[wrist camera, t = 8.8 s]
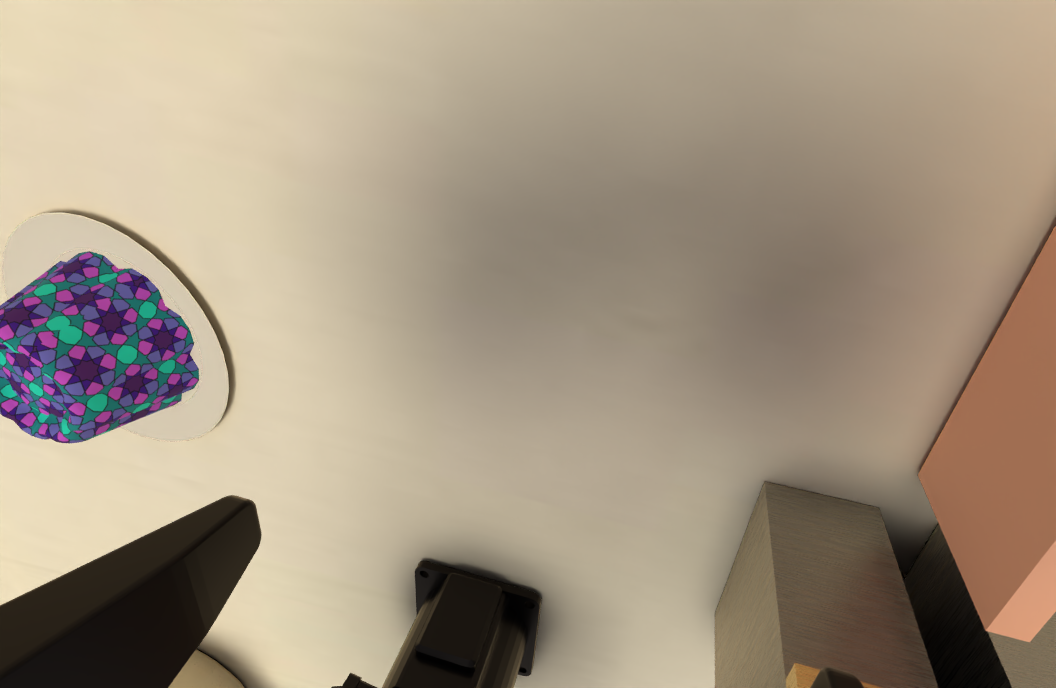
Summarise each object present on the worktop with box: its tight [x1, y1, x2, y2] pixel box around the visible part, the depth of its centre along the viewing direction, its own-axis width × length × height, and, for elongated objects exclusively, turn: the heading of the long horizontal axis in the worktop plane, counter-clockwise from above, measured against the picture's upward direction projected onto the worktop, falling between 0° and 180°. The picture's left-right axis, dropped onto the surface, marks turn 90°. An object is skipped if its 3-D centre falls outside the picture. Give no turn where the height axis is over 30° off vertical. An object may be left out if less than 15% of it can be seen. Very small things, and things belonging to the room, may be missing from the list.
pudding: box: [0, 212, 229, 443], centre depth 26 cm, size 12×12×5 cm
